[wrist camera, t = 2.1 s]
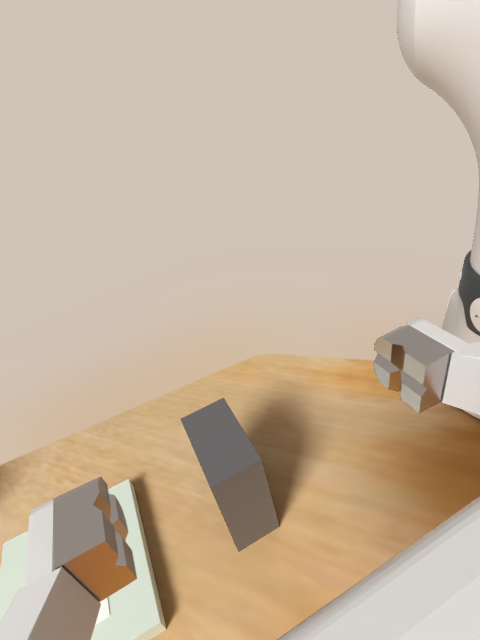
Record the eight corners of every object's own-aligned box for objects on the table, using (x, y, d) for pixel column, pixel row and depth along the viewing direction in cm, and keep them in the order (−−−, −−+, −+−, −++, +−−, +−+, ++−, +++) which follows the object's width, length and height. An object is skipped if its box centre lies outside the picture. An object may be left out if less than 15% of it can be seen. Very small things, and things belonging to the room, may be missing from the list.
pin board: (133, 486, 37) (120, 466, 35) (166, 629, 27) (150, 612, 25) (12, 550, 34) (-11, 532, 32) (-4, 738, 24) (-39, 729, 22)
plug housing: (244, 464, 37) (223, 397, 31) (279, 526, 31) (261, 459, 25) (209, 484, 36) (180, 418, 30) (238, 551, 30) (210, 487, 24)
